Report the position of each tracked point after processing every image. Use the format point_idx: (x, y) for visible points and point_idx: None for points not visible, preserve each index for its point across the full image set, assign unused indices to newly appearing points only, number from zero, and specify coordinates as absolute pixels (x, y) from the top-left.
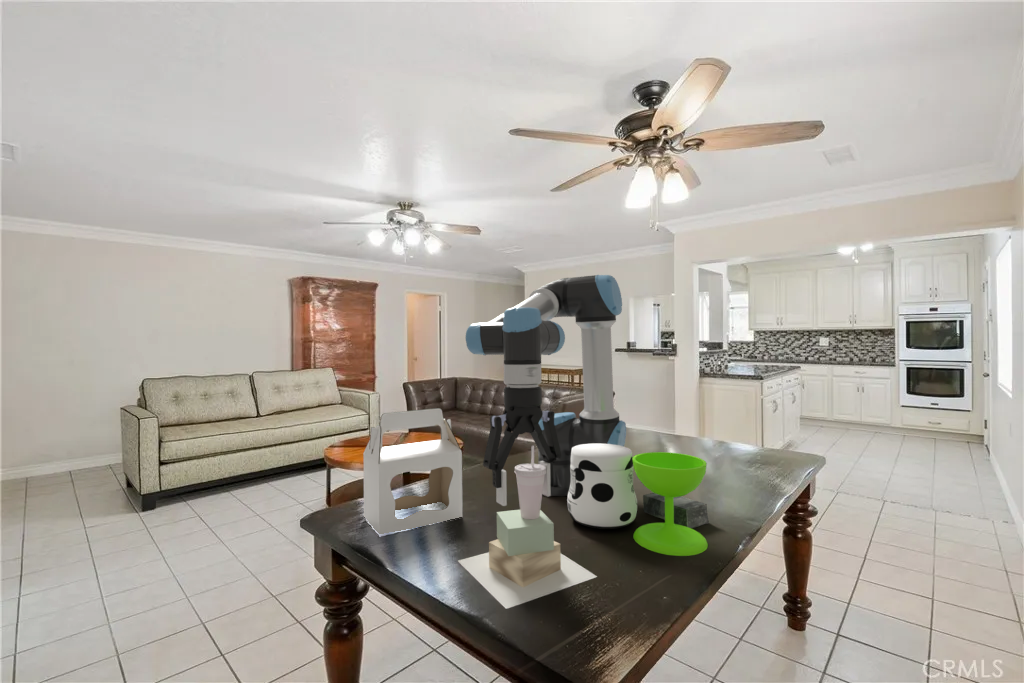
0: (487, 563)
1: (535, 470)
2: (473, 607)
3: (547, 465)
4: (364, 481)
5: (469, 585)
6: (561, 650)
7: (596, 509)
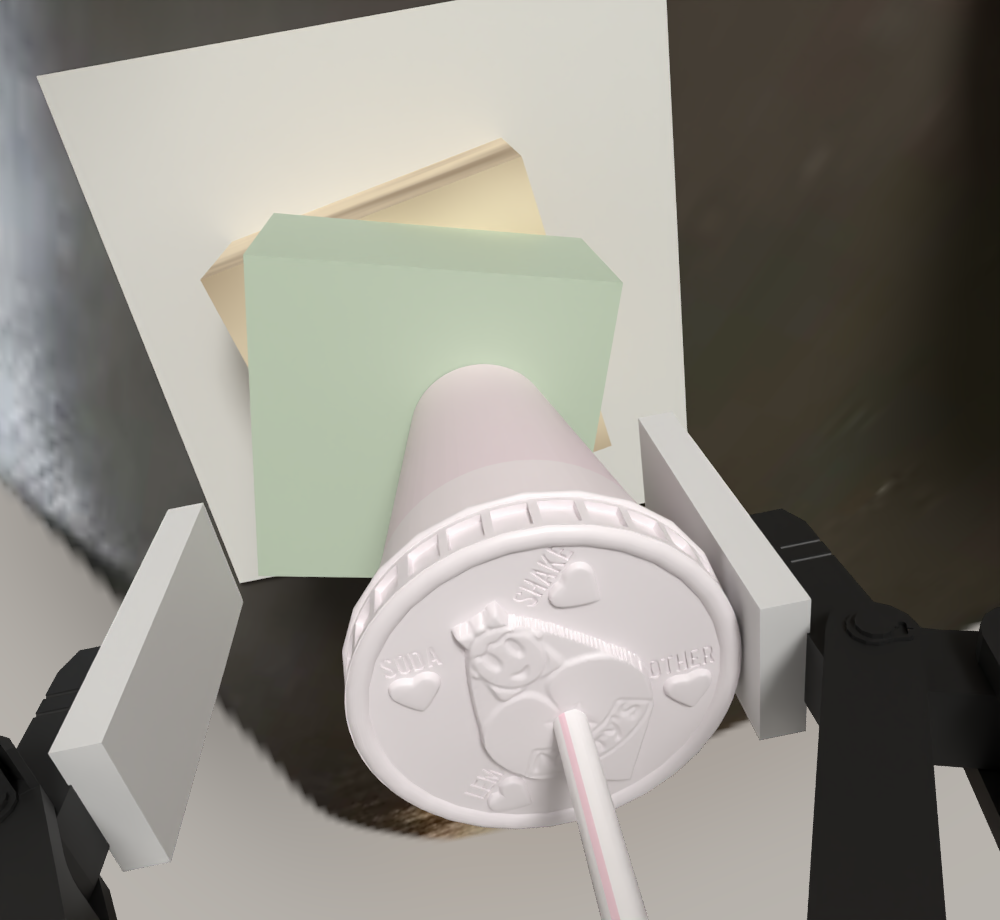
0: (230, 191)
1: (551, 789)
2: (112, 521)
3: (756, 727)
4: None
5: (106, 357)
6: (357, 762)
7: None
